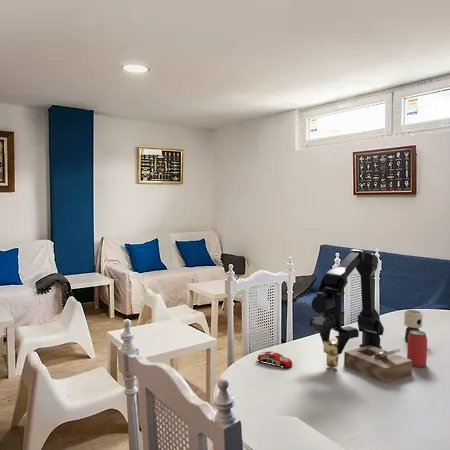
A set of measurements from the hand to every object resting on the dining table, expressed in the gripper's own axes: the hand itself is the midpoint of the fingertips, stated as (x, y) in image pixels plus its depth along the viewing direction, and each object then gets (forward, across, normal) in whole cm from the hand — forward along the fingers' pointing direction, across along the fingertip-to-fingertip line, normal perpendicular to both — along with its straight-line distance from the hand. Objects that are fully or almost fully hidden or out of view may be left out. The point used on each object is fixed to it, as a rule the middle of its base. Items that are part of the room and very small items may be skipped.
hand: (332, 350), depth 154 cm
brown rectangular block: (+6, +9, +13) cm, 17 cm away
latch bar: (0, +14, +13) cm, 19 cm away
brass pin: (+5, 0, 0) cm, 5 cm away
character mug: (+7, -4, +52) cm, 53 cm away
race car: (+7, -14, -15) cm, 22 cm away
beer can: (+7, +13, +30) cm, 33 cm away
